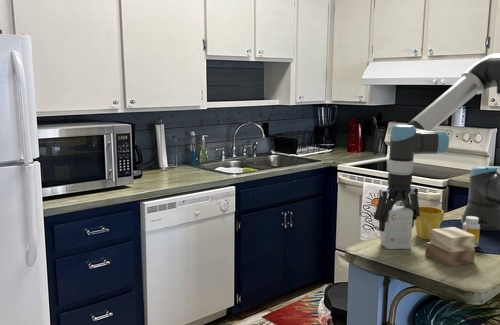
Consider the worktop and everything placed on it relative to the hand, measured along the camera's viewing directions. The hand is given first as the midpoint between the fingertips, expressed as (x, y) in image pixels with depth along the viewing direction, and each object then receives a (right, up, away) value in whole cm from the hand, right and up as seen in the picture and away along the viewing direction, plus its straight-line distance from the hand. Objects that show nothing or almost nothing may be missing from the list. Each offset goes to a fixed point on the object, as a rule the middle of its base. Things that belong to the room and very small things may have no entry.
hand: (395, 238), depth 163 cm
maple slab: (+14, -1, -11) cm, 18 cm away
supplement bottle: (+26, -3, +3) cm, 26 cm away
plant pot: (+14, -1, +11) cm, 18 cm away
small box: (0, -3, +1) cm, 3 cm away
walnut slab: (+14, -5, -10) cm, 18 cm away
